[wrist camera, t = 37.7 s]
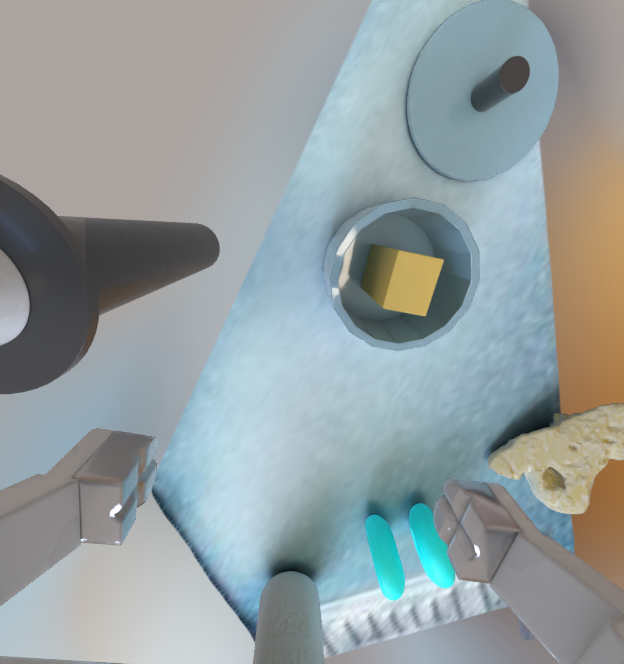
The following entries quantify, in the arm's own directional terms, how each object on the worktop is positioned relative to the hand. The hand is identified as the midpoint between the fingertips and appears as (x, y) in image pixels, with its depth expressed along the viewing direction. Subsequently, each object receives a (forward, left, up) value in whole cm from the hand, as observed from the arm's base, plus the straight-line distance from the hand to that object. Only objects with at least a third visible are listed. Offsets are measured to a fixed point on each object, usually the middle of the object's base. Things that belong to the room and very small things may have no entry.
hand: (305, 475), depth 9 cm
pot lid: (+14, +22, -28) cm, 39 cm away
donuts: (+22, -33, -29) cm, 49 cm away
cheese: (+37, -13, -29) cm, 49 cm away
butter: (+9, +4, -29) cm, 30 cm away
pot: (+9, +4, -29) cm, 31 cm away
